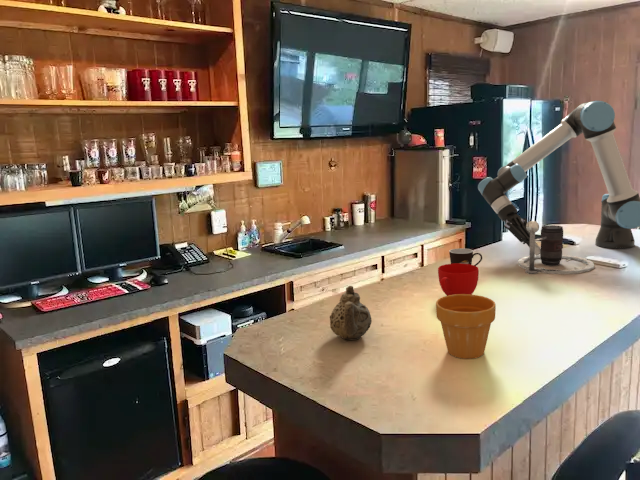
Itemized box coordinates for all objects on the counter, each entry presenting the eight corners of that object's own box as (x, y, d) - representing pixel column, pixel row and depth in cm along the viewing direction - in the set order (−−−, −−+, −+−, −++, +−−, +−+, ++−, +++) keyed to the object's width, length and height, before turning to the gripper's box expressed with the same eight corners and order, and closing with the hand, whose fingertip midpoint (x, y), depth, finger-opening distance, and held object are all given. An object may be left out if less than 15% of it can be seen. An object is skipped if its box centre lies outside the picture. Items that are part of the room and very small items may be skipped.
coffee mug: (447, 279, 196) (447, 253, 194) (451, 273, 204) (451, 248, 202) (480, 280, 192) (480, 254, 190) (482, 274, 200) (482, 248, 198)
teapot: (330, 325, 156) (328, 276, 153) (369, 323, 156) (367, 274, 153) (330, 355, 135) (326, 299, 132) (375, 353, 135) (372, 297, 132)
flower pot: (460, 368, 123) (460, 316, 121) (425, 348, 136) (424, 300, 134) (507, 355, 129) (508, 305, 126) (469, 337, 142) (469, 290, 139)
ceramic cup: (424, 302, 172) (424, 272, 170) (450, 289, 184) (450, 261, 182) (460, 309, 163) (460, 278, 161) (485, 295, 175) (485, 266, 173)
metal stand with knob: (533, 274, 196) (534, 222, 192) (522, 272, 199) (523, 221, 195) (550, 268, 202) (552, 218, 198) (540, 266, 206) (541, 217, 202)
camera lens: (557, 260, 212) (559, 224, 209) (564, 266, 205) (566, 228, 201) (536, 261, 213) (538, 225, 210) (543, 266, 205) (544, 229, 202)
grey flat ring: (573, 255, 220) (573, 252, 220) (607, 271, 194) (608, 269, 194) (508, 258, 221) (508, 256, 221) (534, 275, 194) (534, 273, 194)
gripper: (508, 212, 228) (542, 256, 218) (489, 216, 221) (523, 261, 211) (519, 201, 223) (555, 245, 213) (500, 205, 216) (535, 251, 206)
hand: (539, 253), depth 212 cm, fingers closed
